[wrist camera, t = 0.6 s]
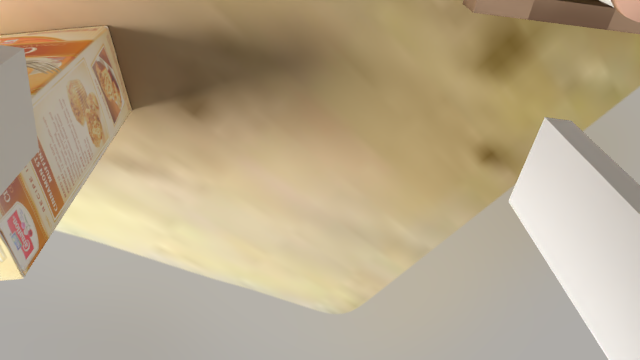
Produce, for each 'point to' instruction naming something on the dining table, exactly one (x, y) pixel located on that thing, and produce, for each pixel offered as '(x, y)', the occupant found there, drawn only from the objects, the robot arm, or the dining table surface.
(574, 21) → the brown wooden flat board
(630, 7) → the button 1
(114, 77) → the coffeecake box
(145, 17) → the dining table surface
